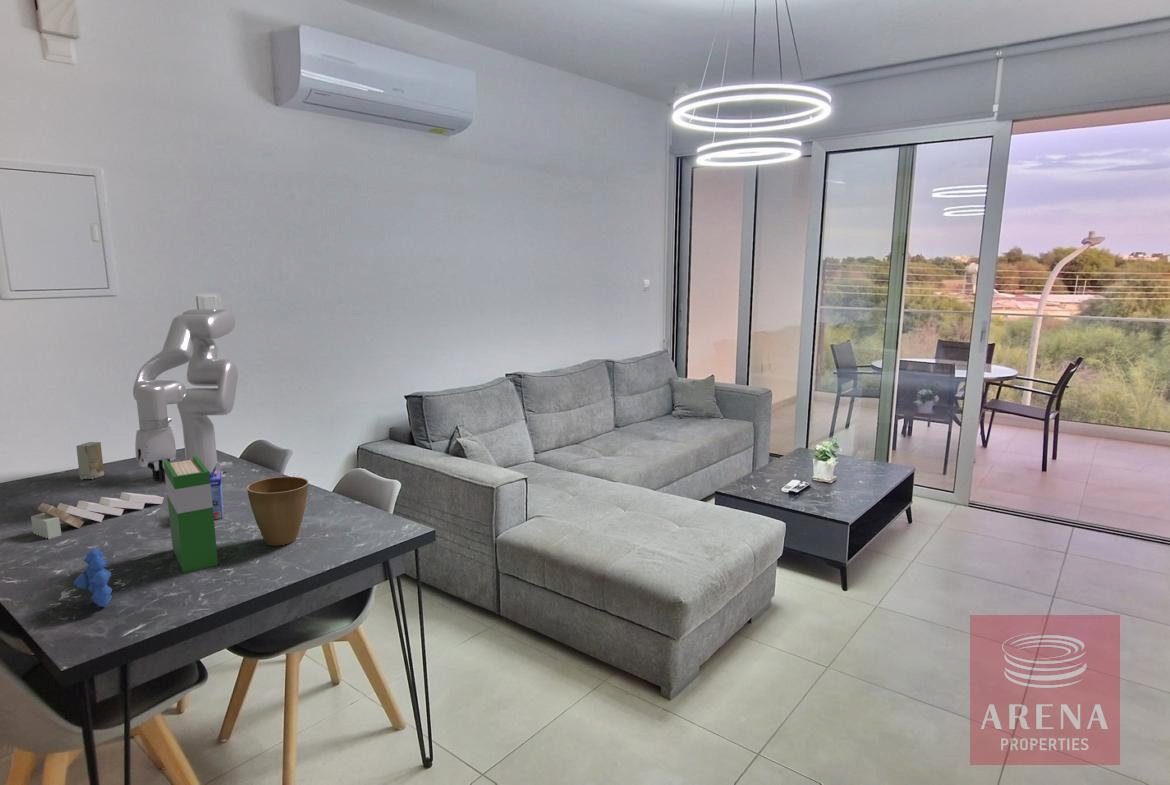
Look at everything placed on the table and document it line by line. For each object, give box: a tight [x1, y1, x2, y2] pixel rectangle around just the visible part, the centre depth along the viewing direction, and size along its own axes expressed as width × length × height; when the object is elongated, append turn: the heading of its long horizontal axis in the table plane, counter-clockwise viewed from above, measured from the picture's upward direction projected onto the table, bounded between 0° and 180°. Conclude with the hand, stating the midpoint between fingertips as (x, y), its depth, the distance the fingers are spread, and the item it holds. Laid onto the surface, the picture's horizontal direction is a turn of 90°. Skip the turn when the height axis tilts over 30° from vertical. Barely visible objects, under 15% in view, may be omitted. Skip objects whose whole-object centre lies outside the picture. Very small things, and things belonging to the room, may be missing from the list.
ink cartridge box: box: [210, 466, 224, 520], centre depth 195 cm, size 10×6×14 cm, turn 28°
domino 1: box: [36, 502, 85, 529], centre depth 183 cm, size 2×5×10 cm
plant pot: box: [246, 476, 310, 547], centre depth 176 cm, size 15×15×16 cm
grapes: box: [73, 548, 113, 607], centre depth 142 cm, size 12×7×12 cm, turn 45°
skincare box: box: [75, 441, 105, 480], centre depth 231 cm, size 6×4×12 cm
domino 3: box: [76, 500, 125, 516], centre depth 192 cm, size 2×5×10 cm
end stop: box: [30, 512, 62, 540], centre depth 180 cm, size 3×8×5 cm, turn 63°
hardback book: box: [164, 456, 219, 574], centre depth 165 cm, size 18×7×24 cm, turn 39°
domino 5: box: [119, 491, 165, 505], centre depth 202 cm, size 2×5×10 cm
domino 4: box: [98, 496, 146, 510], centre depth 197 cm, size 2×5×10 cm
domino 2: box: [56, 502, 105, 523], centre depth 187 cm, size 2×5×10 cm
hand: (159, 481), depth 207 cm, fingers closed
